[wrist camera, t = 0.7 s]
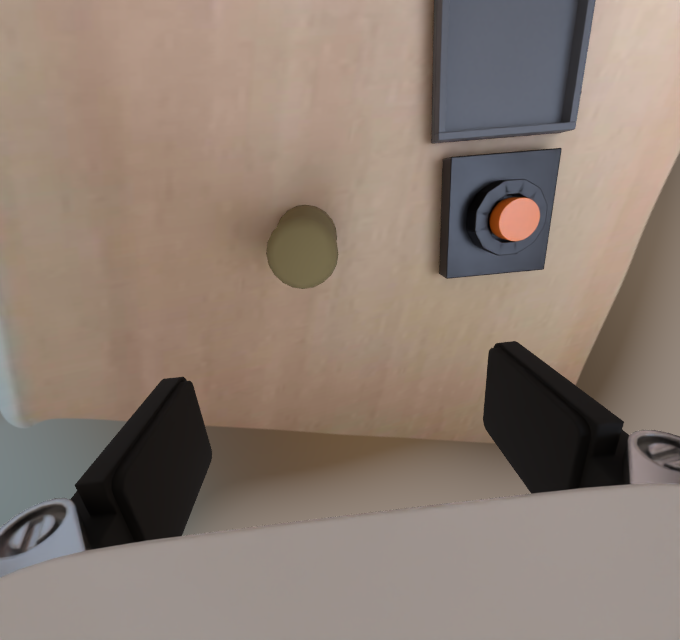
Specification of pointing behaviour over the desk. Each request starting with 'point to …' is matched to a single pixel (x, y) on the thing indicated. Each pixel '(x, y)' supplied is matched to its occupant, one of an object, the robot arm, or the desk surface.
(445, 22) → the tray
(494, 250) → the control block
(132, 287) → the desk surface
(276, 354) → the desk surface
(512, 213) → the button
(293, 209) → the olive rounded lobed piece
